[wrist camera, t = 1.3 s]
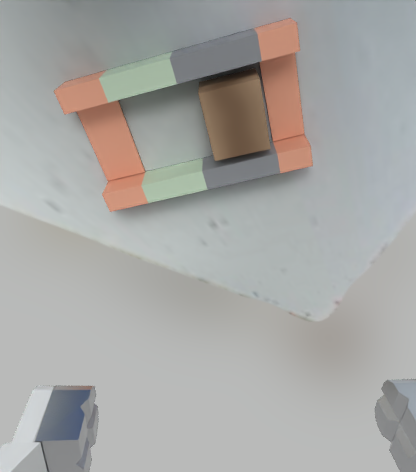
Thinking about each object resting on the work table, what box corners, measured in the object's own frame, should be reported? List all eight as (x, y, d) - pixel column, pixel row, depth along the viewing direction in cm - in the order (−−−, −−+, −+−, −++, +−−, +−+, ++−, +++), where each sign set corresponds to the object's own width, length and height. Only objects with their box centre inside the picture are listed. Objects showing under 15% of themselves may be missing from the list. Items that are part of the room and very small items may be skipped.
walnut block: (254, 67, 34) (259, 78, 31) (265, 132, 37) (270, 148, 34) (199, 81, 35) (198, 93, 31) (214, 144, 38) (214, 161, 35)
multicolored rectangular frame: (290, 18, 32) (296, 22, 29) (306, 152, 38) (312, 165, 36) (64, 82, 35) (53, 91, 32) (116, 197, 41) (110, 211, 39)
